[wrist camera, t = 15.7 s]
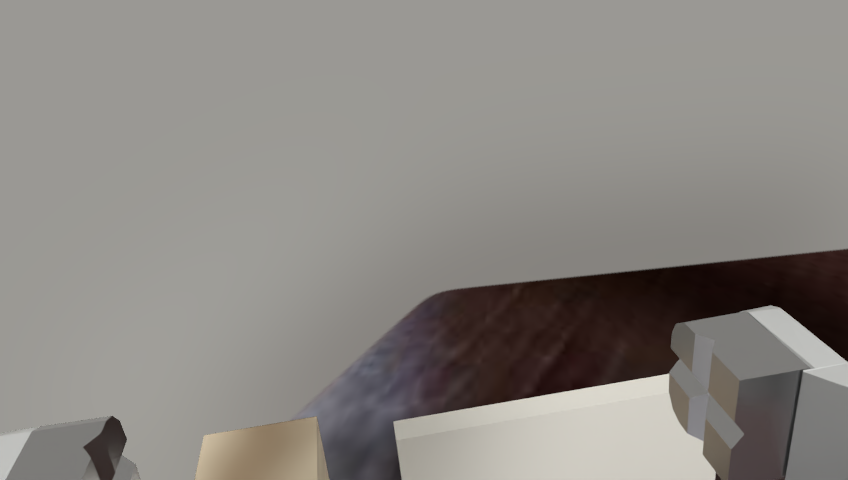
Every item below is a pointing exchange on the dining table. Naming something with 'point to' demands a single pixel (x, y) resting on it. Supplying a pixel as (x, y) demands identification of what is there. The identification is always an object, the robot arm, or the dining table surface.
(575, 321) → the dining table surface
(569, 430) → the upright white panel
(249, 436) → the marked block
